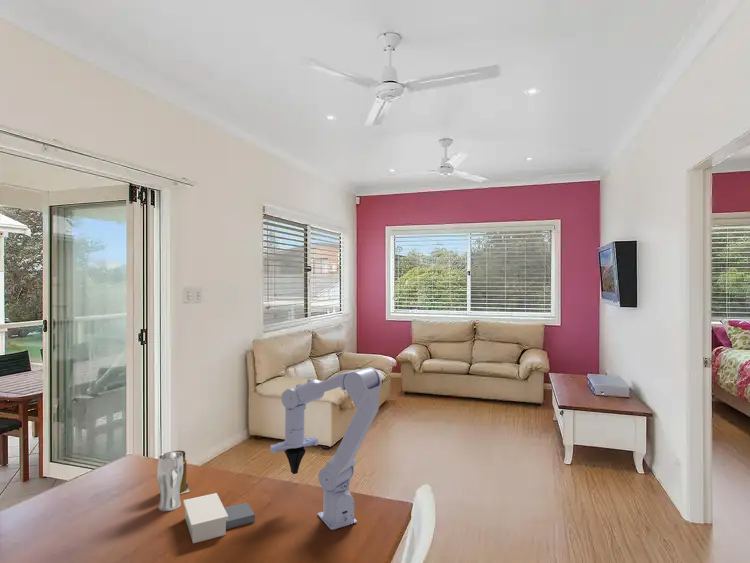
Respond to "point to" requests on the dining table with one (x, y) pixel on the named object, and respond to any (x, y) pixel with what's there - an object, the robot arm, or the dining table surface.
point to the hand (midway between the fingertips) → (294, 472)
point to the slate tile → (239, 515)
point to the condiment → (184, 476)
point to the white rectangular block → (205, 517)
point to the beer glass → (170, 480)
